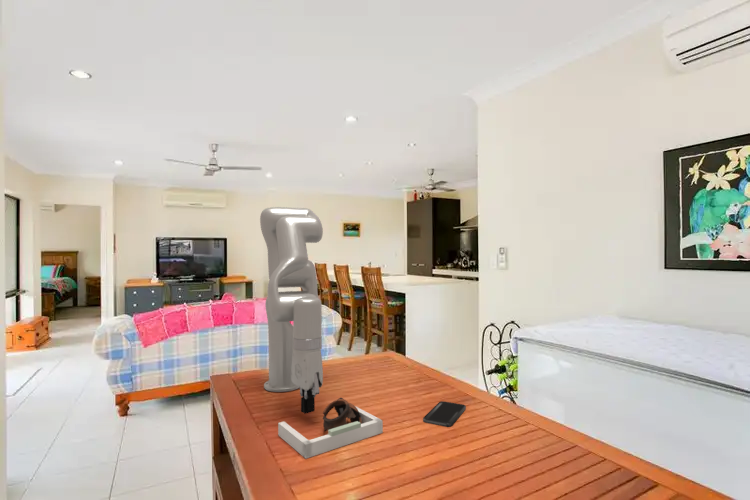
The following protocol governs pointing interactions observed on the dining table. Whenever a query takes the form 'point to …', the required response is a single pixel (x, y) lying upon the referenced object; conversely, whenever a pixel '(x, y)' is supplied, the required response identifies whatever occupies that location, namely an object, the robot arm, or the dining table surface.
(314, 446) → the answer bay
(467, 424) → the dining table surface
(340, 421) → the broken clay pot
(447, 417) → the phone
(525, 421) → the dining table surface
